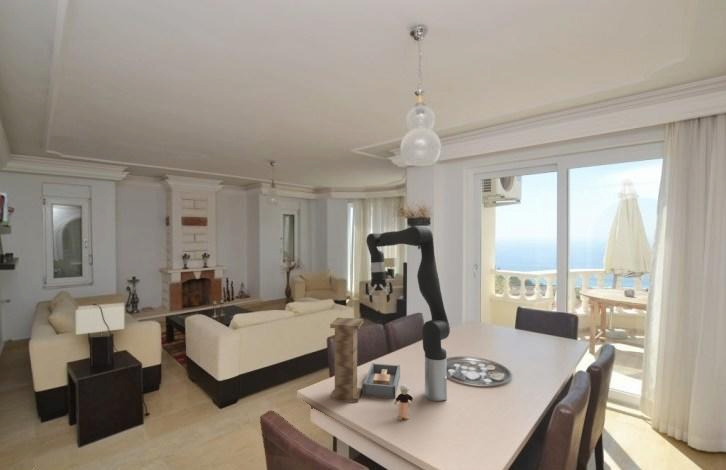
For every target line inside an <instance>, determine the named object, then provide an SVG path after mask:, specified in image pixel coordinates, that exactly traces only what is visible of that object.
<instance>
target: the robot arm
mask: <svg viewBox="0 0 726 470" xmlns="http://www.w3.org/2000/svg"><path fill="white" fill-rule="evenodd" d="M365 240H366V245H367V249H368V251H369V255H370V278H371V280H370V281H371V282H365V295H368V299H369V302H370V303H371V304H372V303H374V300H373V296H374V295H373V294H374V292H375V291H376V292H378V291H384V293H385V294H386V303H389V302H390V301H391V297H390V296H391V294H393V293H394V290H393V289H394V288H393V282H392V281H389V282H387V280H386V266H385V256H384V251H381V250H379V249H378V247H379V248H380V247H390V246H397V245H408V246H414V247H419V246H420V253H421V260H420V263H419V267H418V268H417V269H418V271H417V275H416V277H417V283H418V284H417V285H418V289H419V292H420V295H422V297H423V299H424V300H425V302H426V304H427V305H428V308H429V310H430V316H431V319H430V320H428V321H426V322H424V324H423V326H422V329H421V330H422V331H421V334H422V349H423V351H424V397H425V398H426V399H427V400H430V401H435V402H441V401H447V399H448V395H447V394H448V391H447V390H448V389H447V388H448V381H447V380H448V377H447V351H446V349H445V348H443V347H442V341H443V340H445V339H447V338H448V337H449V335H450V333H451V332H450V331H451V329H450V327H451V326H450V323H449V319H448V316H447V313H446V309H445V306H444V305H445V304H444V300H443V296H442V295H443V294H442V291H441V283H440V278H439V273H438V269H437V263H436V257H435V246H434V236H433V231H432V229H431V228H430V227H429V226H427V225H413V226H410V227H407V228H405V229H402V230H398V231H397V230H396V231H394V230H393V231H392V230H391V231H385V232H382V233H373V232H372V233H369V234H368V235H367V237H366V239H365ZM386 286H388V287H389V289H387V287H386ZM370 287H371V288H372V289H371V290H370Z"/></svg>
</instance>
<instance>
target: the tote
mask: <svg viewBox="0 0 726 470" xmlns="http://www.w3.org/2000/svg"><path fill="white" fill-rule="evenodd" d="M382 369H387V374H388V375H390V385H381V384H373V379H374V376H375V374H381V372H382ZM400 377H401V365H400V364H399V365H398V364H387V363H386V364H384V363H375V362H373V363H371V365H370V368H369V370H368V372H367V375H365V379H364V381H363V384H362V386H363V387H362V395H363V396H364V397H365V396H366V397H376V398H386V399H387V398H388V399H396V398H397V397H396V396H397V391H398V387H399V382H400Z"/></svg>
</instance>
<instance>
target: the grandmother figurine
mask: <svg viewBox="0 0 726 470" xmlns="http://www.w3.org/2000/svg"><path fill="white" fill-rule="evenodd" d="M399 389H400V393H399V394H398V395H397V397H395V400H394V402H393V404H394V405H397V403H398V402H399V403H398V414H397V415H398V416H397V420H399V421H401V420H403V419H404V420H410V417H409V406H410V405H409V401H410V403H411V404H415V401H414V397H412V395H410V394H409V393H408V392H409V391H410V388H409V387H408V385H406V384H401V385H400V386H399Z"/></svg>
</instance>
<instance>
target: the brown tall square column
mask: <svg viewBox="0 0 726 470" xmlns="http://www.w3.org/2000/svg"><path fill="white" fill-rule="evenodd" d="M362 324H364V318H353V317H350V318H349V317H337V318H336V319H335V320H333V321H332V323H330V324H329V325H330V326H329V327H330V329H334V389H333V391H332V392H331V394H330V395H329V399H330V400H331V401H340V402H349V403H359V400H360V398H361V396H362V395H363V387H358V330H359V329H360V327H361V326H362Z"/></svg>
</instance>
